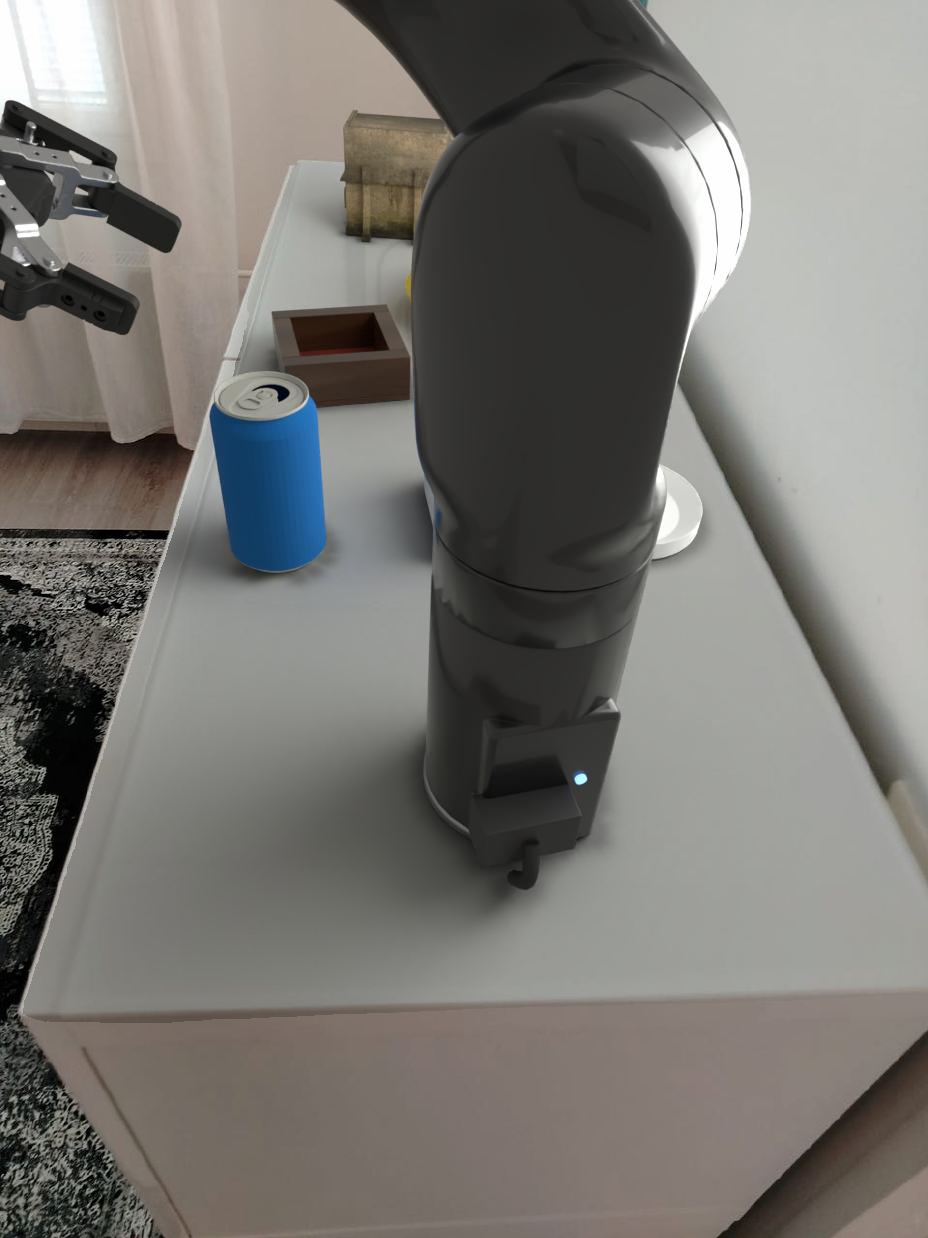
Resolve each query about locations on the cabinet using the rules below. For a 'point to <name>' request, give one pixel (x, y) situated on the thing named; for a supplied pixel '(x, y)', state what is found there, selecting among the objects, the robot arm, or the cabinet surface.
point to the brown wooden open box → (343, 353)
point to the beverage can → (269, 470)
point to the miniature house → (388, 171)
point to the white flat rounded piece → (677, 516)
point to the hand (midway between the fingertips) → (156, 275)
